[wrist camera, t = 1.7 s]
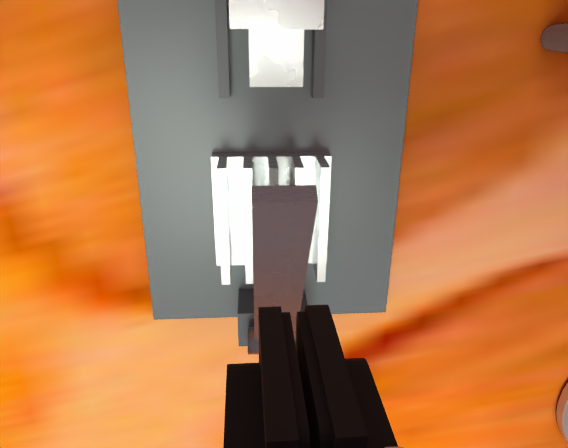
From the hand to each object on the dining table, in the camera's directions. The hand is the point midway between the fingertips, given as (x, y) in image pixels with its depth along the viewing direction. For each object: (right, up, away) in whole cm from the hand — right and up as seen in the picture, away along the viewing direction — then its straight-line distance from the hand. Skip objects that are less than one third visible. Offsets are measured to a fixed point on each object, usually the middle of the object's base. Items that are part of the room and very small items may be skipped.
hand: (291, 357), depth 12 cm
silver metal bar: (-1, +1, +13) cm, 13 cm away
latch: (-1, +14, +14) cm, 20 cm away
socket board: (-1, +8, +19) cm, 20 cm away
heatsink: (-1, +4, +19) cm, 19 cm away
